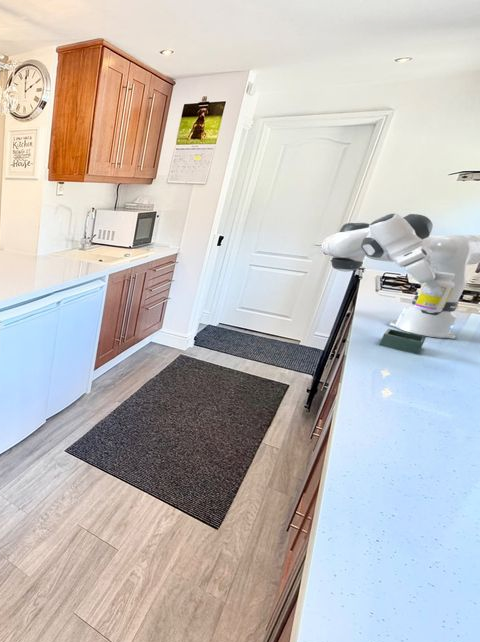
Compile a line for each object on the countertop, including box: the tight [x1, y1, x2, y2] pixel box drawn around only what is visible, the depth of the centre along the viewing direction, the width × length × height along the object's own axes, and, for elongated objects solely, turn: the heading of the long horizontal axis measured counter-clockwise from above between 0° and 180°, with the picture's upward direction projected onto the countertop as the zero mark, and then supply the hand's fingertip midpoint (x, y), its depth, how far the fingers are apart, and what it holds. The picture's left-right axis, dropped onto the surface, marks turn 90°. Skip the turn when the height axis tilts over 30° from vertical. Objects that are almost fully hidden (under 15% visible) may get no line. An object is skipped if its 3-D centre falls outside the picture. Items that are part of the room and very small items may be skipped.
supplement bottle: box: [414, 272, 455, 312], centre depth 136 cm, size 7×7×13 cm
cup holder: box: [378, 328, 427, 355], centre depth 148 cm, size 10×10×4 cm
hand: (439, 289), depth 135 cm, fingers closed on supplement bottle, 6 cm apart
